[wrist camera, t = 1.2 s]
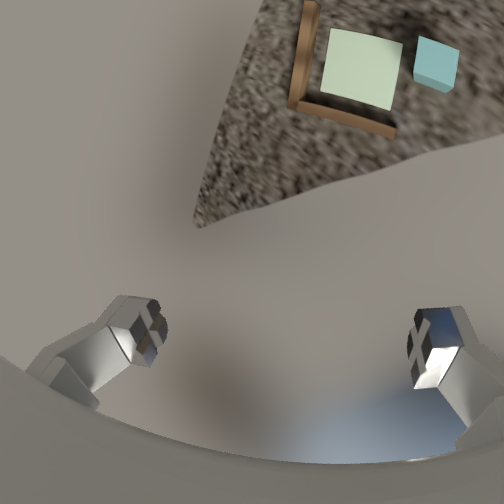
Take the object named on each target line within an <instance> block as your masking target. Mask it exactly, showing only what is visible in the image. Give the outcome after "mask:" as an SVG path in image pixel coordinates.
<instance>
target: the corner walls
mask: <svg viewBox="0 0 504 504" xmlns="http://www.w3.org/2000/svg"><path fill="white" fill-rule="evenodd" d="M320 9H321V6H319V5H318V4H317V3H316V2H315V1H304V5H303V12H302V18H301V24H300V31H299V37H298V43H297V50H296V56H295V62H294V68H293V74H292V80H291V86H290V93H289V99H288V105H287V109H291V110H295V111H300V112H304V113H308V114H312V115H316V116H319V117H323V118H327V119H330V120H334V121H337V122H341V123H344V124H348V125H351V126H354V127H357V128H360V129H363V130H366V131H369V132H372V133H375V134H378V135H381V136H384V137H386V138H389V139H392V140H394V139H395V136H396V132H397V128H395V127H392V126H390V125H387V124H384V123H381V122H378V121H375V120H372V119H369V118H366V117H363V116H359V115H356V114H353V113H349V112H346V111H343V110H339V109H335V108H332V107H328V106H324V105H320V104H316V103H311V102H307V101H305V100H306V94H307V88H308V83H309V77H310V71H311V65H312V59H313V53H314V47H315V41H316V35H317V28H318V22H319V15H320Z"/></svg>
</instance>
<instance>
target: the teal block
mask: <svg viewBox="0 0 504 504" xmlns="http://www.w3.org/2000/svg"><path fill="white" fill-rule="evenodd" d="M458 56H459V50H456V49H454V48H451V47H449V46H446V45H444V44H441V43H439V42H436V41H433V40H430V39H427V38H424V37H421V36H419V40H418V47H417V53H416V59H415V65H414V71H413V74H414V81H416V82H419V83H422V84H424V85H427V86H429V87H432V88H434V89H437V90H439V91H442V92H444V93H447V92H448V91H449V90H451V89H452V88H453V86H454V81H455V75H456V69H457V63H458Z"/></svg>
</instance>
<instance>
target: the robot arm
mask: <svg viewBox="0 0 504 504" xmlns="http://www.w3.org/2000/svg"><path fill="white" fill-rule="evenodd" d="M160 310H161V307H160V304H159V302H158V301H157V300H155V299H151V298H143V297H136V296H127V295H119V296H117V297H116V298H115V299H114V300H113V302H112V303H111V304H110V305H109V306H108V307H107V309H106V310H105V311H104V312H103V313H102V315H101V316H100V317H99V318H98V319H97V321H96V322H95V323H90V324H88V325H86V326H84V327H82V328H80V329H78V330H76V331H74V332H73V333H71V334H69V335H67V336H65V337H63V338H61V339H59V340H57V341H56V342H54V343H52V344H50V345H48V346H46V347H44V348H43V349H42V350H41V352H40V353H39V354H38V355H37V356H36V358H35V359H34V360H33V362H32V363H31V364H30V365H29V367H28V368H27V369H26V370H25V371H23V370H21V369H20V368H19V367H17V366H16V365H14V364H12V363H11V362H10V361H8V360H7V359H6V358H4V357H3V356H1V355H0V504H504V361H503V360H502V359H501V358H500V357H498V356H497V355H496V354H495V353H494V352H493V351H491V350H490V349H489V348H488V347H486V346H485V345H484V344H479V341H478V339H477V337H476V334H475V332H474V330H473V327H472V325H471V323H470V320H469V318H468V316H467V314H466V312H465V310H464V308H463V307H462V306H456V307H455V306H454V307H447V308H445V307H443V308H423V309H418V310H417V312H416V313H415V316H414V322H415V326H414V327H413V328H412V329H411V330H410V332H409V335H408V342H407V354H408V359H409V360H410V361H411V362H412V363H413V366H412V369H411V377H412V383H413V388H414V389H417V388H430V387H438V389H439V390H440V392H441V393H442V394H443V396H444V397H445V398H446V399H447V401H448V402H449V403H450V405H451V406H452V407H453V409H454V410H455V411H456V412H457V414H458V415H459V416H460V418H461V419H462V421H463V422H464V423H465V425H466V426H467V427H468V429H467V430H466V431H465V432H464V433H463V434H462V435H461V436H460V437H458V439H457V440H456V441H455V445H456V451H454V452H450V453H445V454H440V455H434V456H429V457H423V458H416V459H409V460H400V461H392V462H379V463H360V464H317V463H299V462H288V461H277V460H268V459H261V458H254V457H248V456H242V455H236V454H230V453H226V452H221V451H216V450H211V449H207V448H203V447H199V446H195V445H191V444H187V443H183V442H180V441H177V440H173V439H170V438H167V437H163V436H160V435H157V434H154V433H151V432H148V431H145V430H142V429H140V428H137V427H134V426H131V425H129V424H126V423H124V422H121V421H119V420H116V419H114V418H111V417H109V416H107V415H104V414H102V413H100V412H98V411H96V409H97V408H98V406H99V404H100V403H99V400H98V399H97V398H96V397H95V396H94V395H93V392H94V391H96V390H97V389H98V388H100V387H101V386H102V385H104V384H105V383H106V382H108V381H109V380H110V379H112V378H113V377H114V376H116V375H117V374H118V373H120V372H121V371H122V370H124V369H125V368H126V367H128V366H129V365H130V364H135V365H139V366H144V367H150V366H151V365H152V363H153V361H154V359H155V358H156V356H157V354H158V352H157V348H158V347H160V346H161V345H163V344H164V342H165V340H166V338H167V333H168V325H167V321H166V319H165V318H164V317H163V316H162V315H161V314H160Z"/></svg>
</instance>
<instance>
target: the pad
mask: <svg viewBox="0 0 504 504" xmlns="http://www.w3.org/2000/svg"><path fill="white" fill-rule="evenodd" d="M402 47H403V44H401V43H398V42H394V41H391V40H387V39H383V38H379V37H375V36H371V35H366V34H361V33H356V32H351V31H346V30H340V29H334V28H331V31H330V37H329V43H328V49H327V55H326V61H325V67H324V73H323V78H322V84H321V89H320V91H322V92H327V93H331V94H335V95H339V96H343V97H346V98H350V99H354V100H357V101H361V102H364V103H367V104H371V105H374V106H377V107H380V108H383V109H386V110H389V111H390V109H391V105H392V100H393V96H394V91H395V86H396V81H397V76H398V71H399V65H400V59H401V53H402Z"/></svg>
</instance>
